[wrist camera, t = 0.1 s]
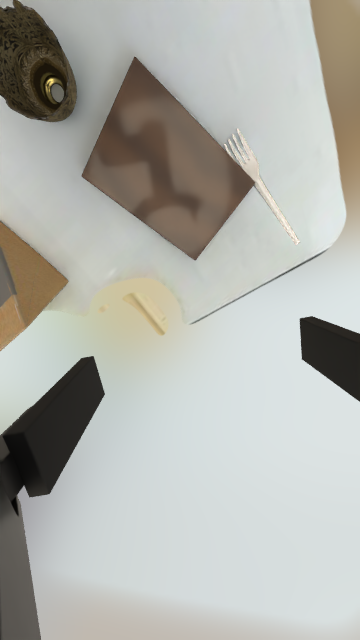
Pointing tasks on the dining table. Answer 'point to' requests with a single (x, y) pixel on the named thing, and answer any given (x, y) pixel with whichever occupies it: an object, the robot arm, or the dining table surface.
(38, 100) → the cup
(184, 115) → the walnut board
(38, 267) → the sandwich container
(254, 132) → the dining table surface
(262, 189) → the fork
